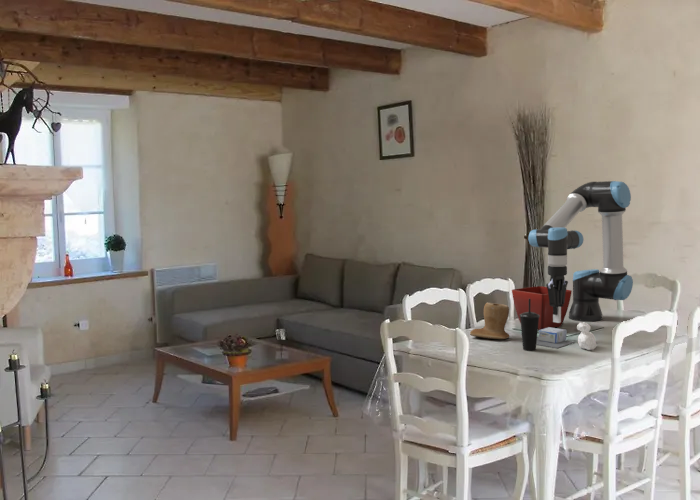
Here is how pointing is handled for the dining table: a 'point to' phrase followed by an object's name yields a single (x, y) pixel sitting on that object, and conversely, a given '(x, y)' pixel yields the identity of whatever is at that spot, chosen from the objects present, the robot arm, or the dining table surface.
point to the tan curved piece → (493, 322)
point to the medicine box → (552, 335)
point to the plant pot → (539, 305)
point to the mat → (553, 345)
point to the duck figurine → (586, 337)
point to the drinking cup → (529, 329)
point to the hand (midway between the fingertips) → (556, 322)
